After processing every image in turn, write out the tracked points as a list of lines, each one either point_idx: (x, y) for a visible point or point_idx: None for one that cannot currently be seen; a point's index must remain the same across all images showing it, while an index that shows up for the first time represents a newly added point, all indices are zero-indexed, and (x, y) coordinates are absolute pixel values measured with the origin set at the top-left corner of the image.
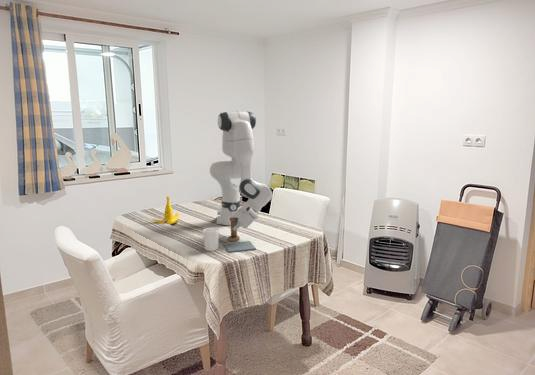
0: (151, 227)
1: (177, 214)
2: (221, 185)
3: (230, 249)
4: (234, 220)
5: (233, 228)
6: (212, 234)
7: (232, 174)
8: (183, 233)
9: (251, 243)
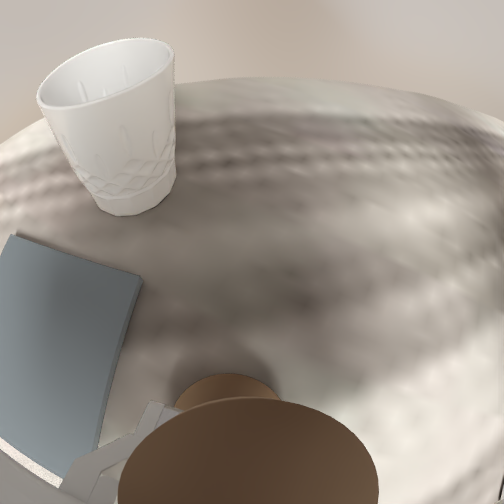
0: (501, 143)
1: None
2: None
3: (18, 255)
4: (129, 469)
5: (148, 406)
6: (58, 84)
7: None
8: (457, 179)
9: (29, 455)
